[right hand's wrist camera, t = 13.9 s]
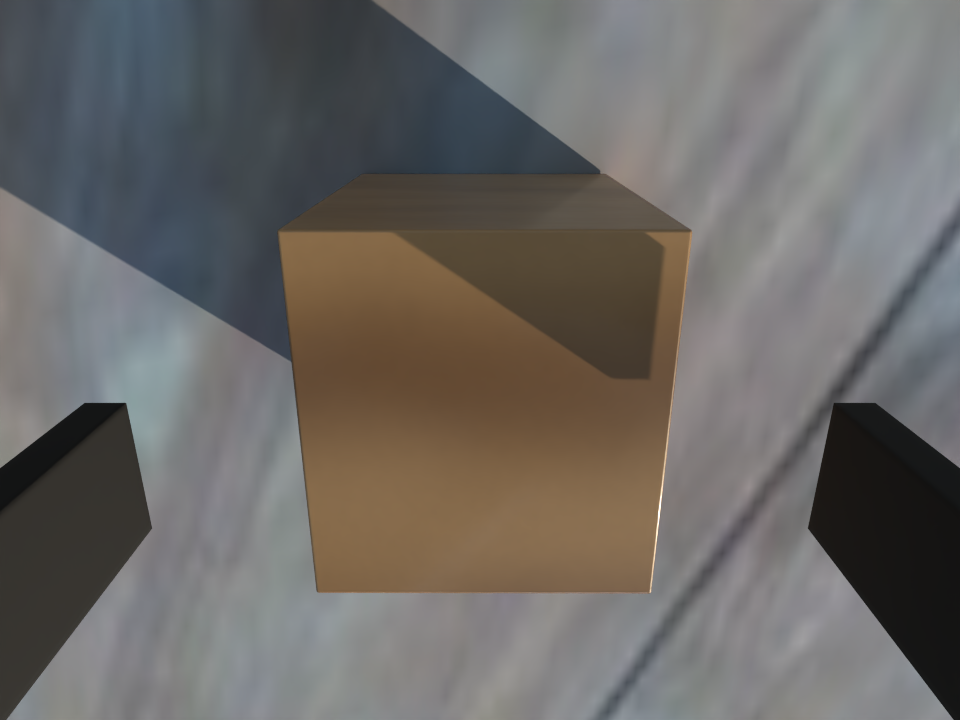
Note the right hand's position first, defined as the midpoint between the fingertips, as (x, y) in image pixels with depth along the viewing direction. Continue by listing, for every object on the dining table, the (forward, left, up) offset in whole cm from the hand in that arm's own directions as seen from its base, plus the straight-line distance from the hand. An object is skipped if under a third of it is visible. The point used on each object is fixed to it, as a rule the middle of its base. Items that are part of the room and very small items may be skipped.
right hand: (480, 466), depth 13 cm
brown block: (0, 0, -11) cm, 11 cm away
